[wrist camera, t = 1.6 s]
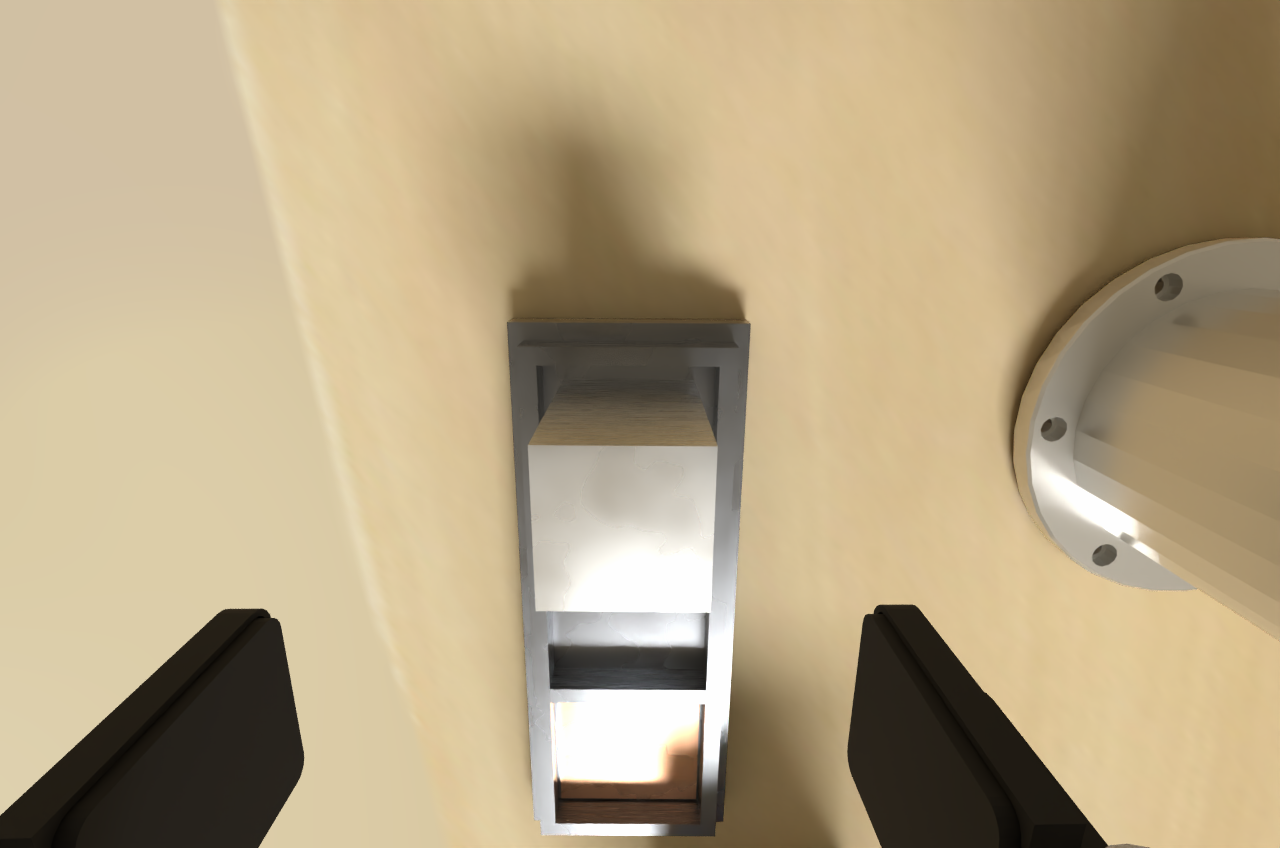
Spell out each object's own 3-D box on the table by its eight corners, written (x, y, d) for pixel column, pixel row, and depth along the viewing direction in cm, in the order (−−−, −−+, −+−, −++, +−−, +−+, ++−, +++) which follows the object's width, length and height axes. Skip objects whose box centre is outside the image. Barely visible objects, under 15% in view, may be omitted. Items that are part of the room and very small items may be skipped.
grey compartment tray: (745, 319, 22) (756, 328, 20) (720, 801, 28) (726, 847, 26) (513, 318, 22) (499, 327, 20) (537, 800, 28) (529, 846, 26)
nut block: (693, 379, 21) (717, 446, 15) (690, 500, 23) (710, 612, 16) (563, 379, 21) (527, 445, 15) (567, 499, 23) (535, 610, 16)
